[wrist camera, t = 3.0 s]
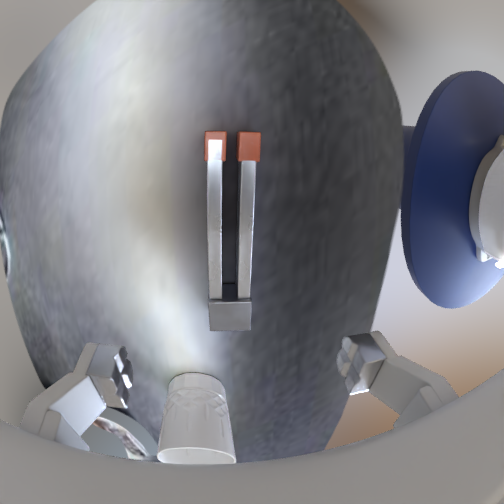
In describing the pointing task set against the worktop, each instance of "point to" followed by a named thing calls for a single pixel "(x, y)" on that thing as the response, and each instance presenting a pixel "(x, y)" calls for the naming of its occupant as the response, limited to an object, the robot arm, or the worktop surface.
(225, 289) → the tongs
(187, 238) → the worktop surface
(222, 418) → the white cup
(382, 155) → the worktop surface
